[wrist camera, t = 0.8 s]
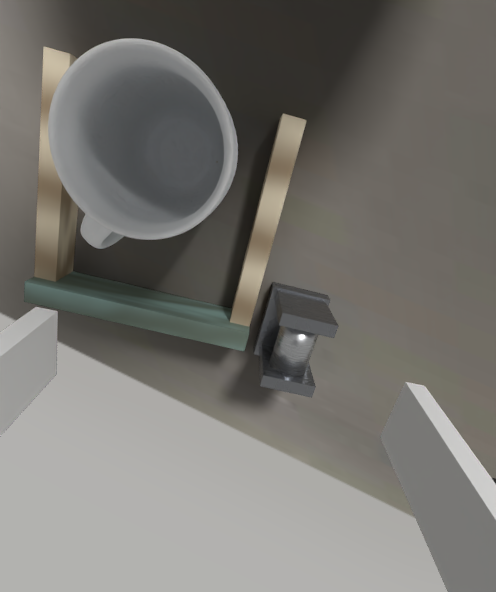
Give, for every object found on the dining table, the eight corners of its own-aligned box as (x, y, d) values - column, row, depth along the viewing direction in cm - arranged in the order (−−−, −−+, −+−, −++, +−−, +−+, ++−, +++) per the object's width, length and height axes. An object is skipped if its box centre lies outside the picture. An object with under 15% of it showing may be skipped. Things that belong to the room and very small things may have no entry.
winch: (272, 281, 37) (277, 309, 30) (327, 295, 38) (344, 325, 31) (253, 347, 40) (254, 386, 33) (304, 359, 40) (316, 400, 33)
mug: (168, 265, 37) (126, 315, 24) (77, 191, 34) (-21, 206, 22) (265, 148, 33) (274, 139, 20) (170, 55, 30) (116, -18, 18)
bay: (66, 59, 30) (32, 39, 26) (301, 124, 32) (309, 117, 27) (52, 284, 38) (24, 301, 33) (245, 329, 39) (244, 351, 34)
